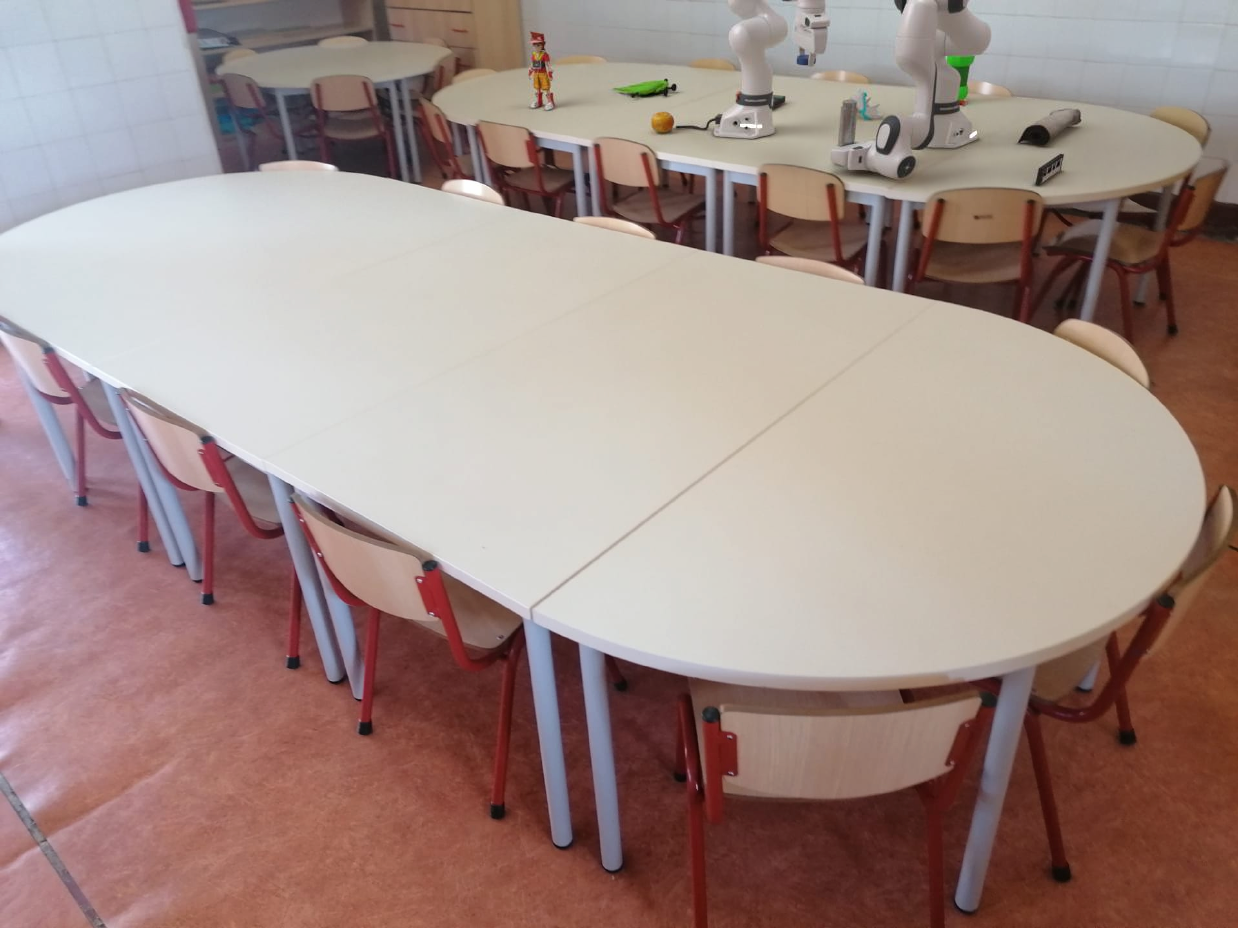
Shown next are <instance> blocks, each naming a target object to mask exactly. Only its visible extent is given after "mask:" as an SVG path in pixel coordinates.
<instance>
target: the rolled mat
mask: <svg viewBox="0 0 1238 928" xmlns="http://www.w3.org/2000/svg"><path fill="white" fill-rule="evenodd" d="M1081 116H1082V114H1081V110H1080V109H1079V108H1072V107H1070V108H1064V109H1063V108H1062V109H1055V110H1053V111H1051V112H1050V113H1049V115H1047V116H1045V117H1043V118H1041V119H1039V120H1037V121H1036V122H1034V123H1033V124H1031V125H1029V126H1027V127H1025V128H1024V130H1023V132H1022V133H1021V136H1020V137H1019V139H1018V141H1017V143H1018V144H1021V143H1023V142H1029V143H1030V144H1032V145H1033V146H1039V147H1045V146H1047V145H1048V144H1050V143H1051V141H1053V140H1054V138H1056V136H1057V135H1058V134H1060V133H1061V132H1062V131H1064V130H1065V129H1066V128H1067V127H1070V126H1077V125H1079V124H1080V123H1081V122H1082V118H1081Z"/></svg>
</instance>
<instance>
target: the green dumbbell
mask: <svg viewBox="0 0 1238 928" xmlns="http://www.w3.org/2000/svg"><path fill="white" fill-rule="evenodd" d="M975 57H976V55H975V56H968V57H959V56H946V61H947V63H948V64H949V65H950V66H951V67H953V68H955V69H956V70H957V71H958V72H959V74H960V77H961V81H960V87H959V93H958V100H961V99H962V100H966V98H967V96H968V95H969V85H968V79H969V73H970V67H971V65H972V64H973V63H974V61H975Z"/></svg>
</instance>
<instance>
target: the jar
mask: <svg viewBox="0 0 1238 928" xmlns="http://www.w3.org/2000/svg"><path fill="white" fill-rule="evenodd" d="M857 110H858V107H857V101H856V100H850V99H844V100H843V101H842V106H841V107H840V113H839V114H840V115H839V116H840V117H839V125H838V126H839V127H838V137H837V138H838V139H837V145H841V146H842V147H843V146H847V145H852V144H854V142H856V141H855V140H856V130H857V120H858V119H857V118H858V111H857ZM837 165H838V166H840V165H839V164H837Z"/></svg>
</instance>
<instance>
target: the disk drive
mask: <svg viewBox="0 0 1238 928" xmlns="http://www.w3.org/2000/svg"><path fill="white" fill-rule="evenodd" d="M785 103H786V95H779V94H778V95H777V94H773V106H772V110H774V109H776V108H778V107H779V106H781V105H783V104H785Z"/></svg>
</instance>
